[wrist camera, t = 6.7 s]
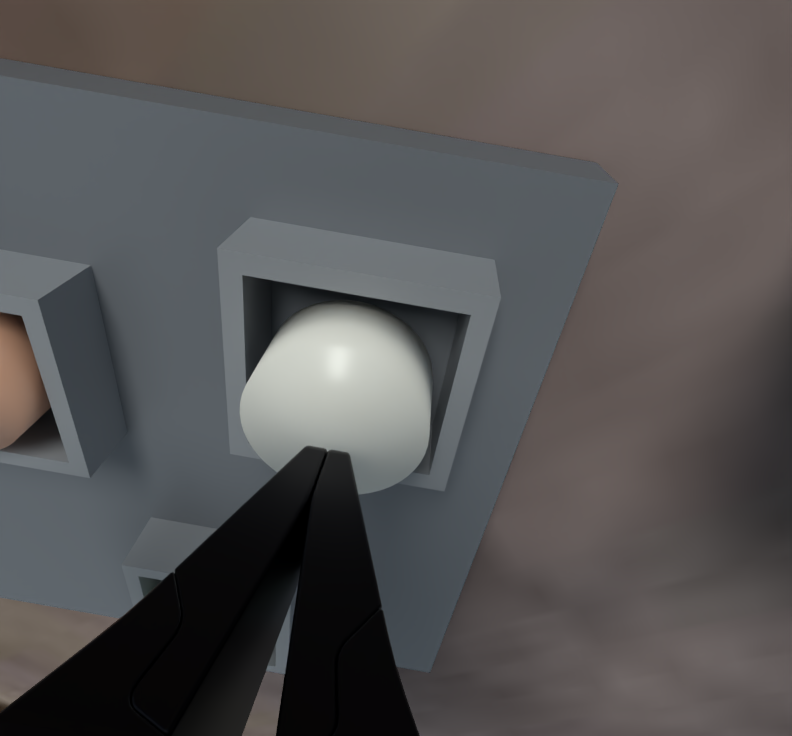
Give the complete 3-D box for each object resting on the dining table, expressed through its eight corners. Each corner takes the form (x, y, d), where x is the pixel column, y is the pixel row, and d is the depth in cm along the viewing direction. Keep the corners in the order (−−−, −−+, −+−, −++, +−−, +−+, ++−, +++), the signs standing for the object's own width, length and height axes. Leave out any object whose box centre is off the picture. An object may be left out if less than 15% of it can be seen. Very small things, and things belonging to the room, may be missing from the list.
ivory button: (448, 317, 11) (446, 368, 9) (417, 448, 13) (412, 508, 12) (268, 285, 11) (235, 331, 9) (269, 422, 13) (242, 478, 12)
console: (596, 162, 12) (648, 212, 9) (431, 629, 25) (427, 722, 21) (-215, 20, 12) (-462, 18, 9) (30, 559, 25) (-35, 641, 21)
